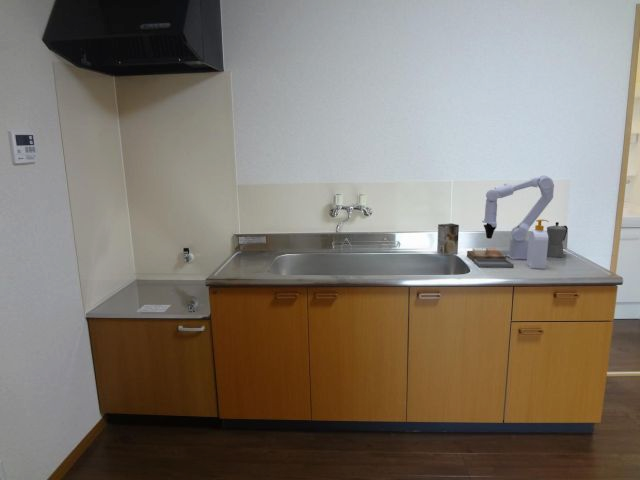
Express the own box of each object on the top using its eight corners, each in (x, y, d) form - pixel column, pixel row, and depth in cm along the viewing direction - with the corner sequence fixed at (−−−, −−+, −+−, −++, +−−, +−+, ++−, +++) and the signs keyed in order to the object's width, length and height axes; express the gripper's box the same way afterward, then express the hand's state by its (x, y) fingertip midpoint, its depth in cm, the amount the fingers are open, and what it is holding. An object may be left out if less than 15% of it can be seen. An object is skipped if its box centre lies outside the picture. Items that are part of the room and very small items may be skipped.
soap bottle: (547, 269, 218) (552, 221, 214) (531, 268, 219) (536, 221, 215) (541, 264, 227) (545, 218, 222) (526, 263, 228) (530, 218, 223)
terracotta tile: (495, 252, 240) (496, 248, 240) (499, 254, 235) (499, 250, 235) (486, 251, 240) (486, 248, 240) (489, 254, 236) (489, 250, 235)
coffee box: (450, 251, 255) (451, 223, 252) (457, 254, 249) (459, 224, 246) (436, 253, 251) (437, 224, 248) (443, 255, 246) (445, 226, 242)
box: (506, 262, 231) (506, 259, 230) (513, 267, 221) (513, 264, 220) (473, 262, 231) (473, 258, 231) (479, 267, 222) (479, 264, 221)
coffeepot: (553, 259, 237) (557, 224, 233) (537, 255, 245) (540, 221, 242) (572, 255, 244) (576, 222, 240) (556, 252, 252) (559, 219, 249)
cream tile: (482, 251, 241) (482, 248, 240) (485, 254, 236) (485, 250, 235) (472, 251, 241) (472, 248, 240) (475, 254, 236) (475, 250, 235)
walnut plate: (497, 256, 243) (498, 250, 243) (505, 262, 231) (506, 256, 231) (466, 256, 244) (467, 250, 243) (473, 262, 232) (473, 256, 232)
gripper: (479, 210, 248) (477, 235, 251) (487, 214, 234) (485, 241, 236) (492, 210, 248) (490, 235, 250) (501, 214, 233) (499, 241, 236)
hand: (489, 238), depth 243 cm, fingers closed
